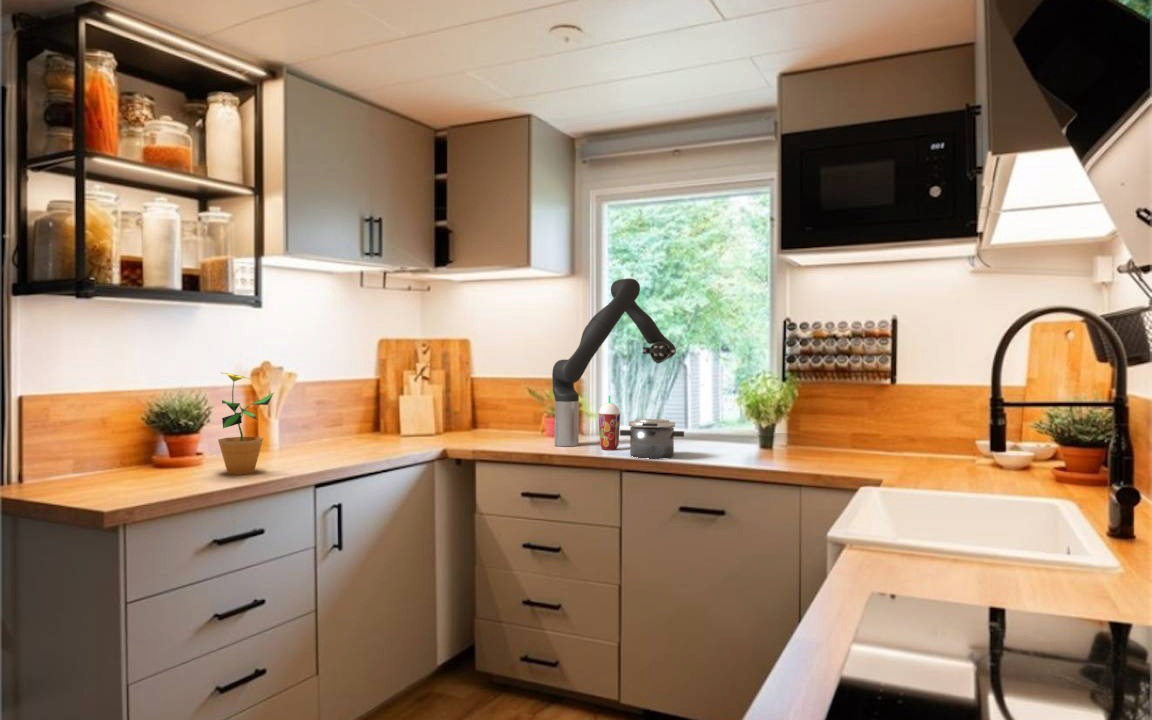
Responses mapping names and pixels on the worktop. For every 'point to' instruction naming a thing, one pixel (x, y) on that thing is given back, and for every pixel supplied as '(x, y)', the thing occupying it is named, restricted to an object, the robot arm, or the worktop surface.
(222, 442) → the potted plant
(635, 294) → the robot arm
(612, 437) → the smoothie
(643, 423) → the lid
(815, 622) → the worktop surface
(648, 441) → the cooker pot
